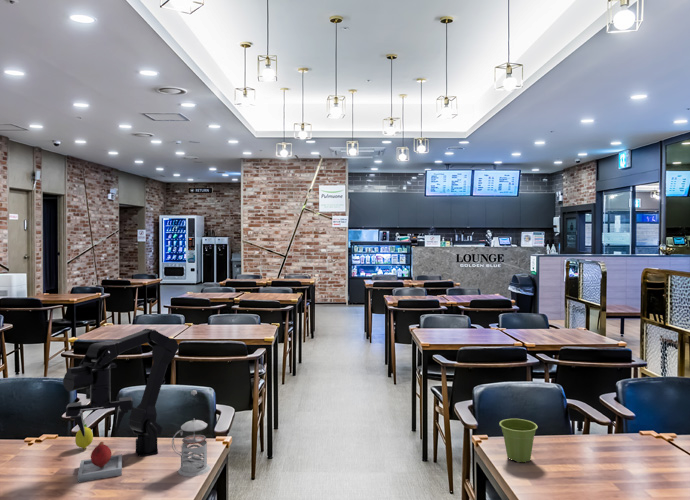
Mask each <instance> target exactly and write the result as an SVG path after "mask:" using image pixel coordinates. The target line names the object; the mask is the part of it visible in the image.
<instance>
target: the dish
mask: <svg viewBox="0 0 690 500" xmlns="http://www.w3.org/2000/svg"><path fill="white" fill-rule="evenodd" d="M122 475H123V454H114V455H111V458H110V460H109V462H108V463H107V464H105V465H104V467H102V468H100V467H98V466H96V465H94V464H93V463H92V461H91V458H88V459H82V460H80V462H79V469H78V472H77V483H82V482H87V481H93V480H94V481H95V480H101V479H106V478H112V477H117V476H122Z"/></svg>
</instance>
